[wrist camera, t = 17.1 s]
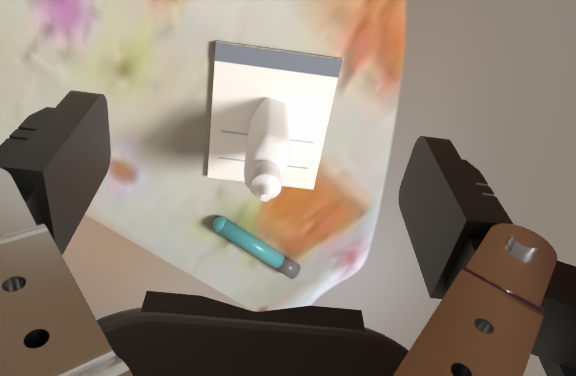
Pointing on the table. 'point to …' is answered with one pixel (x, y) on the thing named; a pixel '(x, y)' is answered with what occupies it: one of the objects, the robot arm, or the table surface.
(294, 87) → the notepad
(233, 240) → the marker
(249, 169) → the white tapered bottle shape
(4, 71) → the table surface
